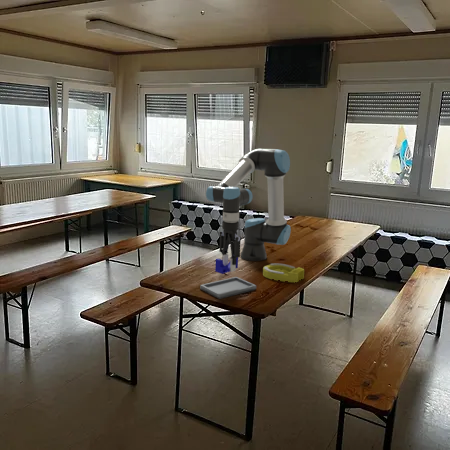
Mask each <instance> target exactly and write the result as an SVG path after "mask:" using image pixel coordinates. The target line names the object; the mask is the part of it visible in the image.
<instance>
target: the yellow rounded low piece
mask: <svg viewBox="0 0 450 450" xmlns="http://www.w3.org/2000/svg"><path fill="white" fill-rule="evenodd" d="M262 275H263V277H265V278H266V279H269V280H272V279H274V280H273V281H278V280H280V281H279V282H285V281H288V282H287V283H295V282H296V283H298V282H300V281H302V280H303V279H304V278H305V277H304V276H305V269H304V268H303V267H299V266H298V267H295V266H293V265H290V264H285V263H277V262H276V263H270V264H267V265H264V266H263V268H262ZM301 279H302V280H301ZM299 280H300V281H299Z"/></svg>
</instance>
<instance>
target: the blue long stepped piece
mask: <svg viewBox="0 0 450 450" xmlns="http://www.w3.org/2000/svg"><path fill="white" fill-rule="evenodd" d="M230 256H231V257H232V255H230ZM236 269H239V257H238V258H237V259H236ZM214 271H215V273H218V274H221V275H223V274H226V273H230V261H228V264H227V265H226V266H224V264H223V260H222V258H215V267H214Z"/></svg>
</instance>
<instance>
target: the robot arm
mask: <svg viewBox="0 0 450 450" xmlns="http://www.w3.org/2000/svg"><path fill="white" fill-rule="evenodd" d="M290 166H291V159H290V155H289V153H288V152H287V151H286V150H284V149H283V150H282V149H276V148H255V149H253V150H251V151H249V152H247V153H246V154H243V156H242V157H241V158H239V160H238V163H237V164H236V166H234V168H232V170H230V172H228V174H227V175H226V176H224V177H223V178H222V180H221V181H219V183H217V185H215V186H214V185H209V186H208V187H207V188H206V191H205V197H206V200H208V201H209V202H212V203H222V220H223V221H222V223H221V224H222V225H221V226H222V227H221V228H222V230H223V231H219V250H218V251H219V253H221V255H222V258H221V259H222V260H223V264H224V266H226V265H227V264H228V263H229V262H230V272H236V269H237V268H236V259H237V258H238V259H239V258H241V259H242V260H245V261H251V262H260V261H261V262H262V261H265V260H266V259H267V252H266V247H265V243H268V244H274V245H278V246H279V245H281V246H283V245H286V244H287V242H288V240H289V239H290V237H291V231H292V228H291V225H289V224H288V221H287V219H286V218H285V203H284V200H285V199H284V195H285V194H284V193H285V192H284V178H285V176H286V175H287V173H288V172H290V168H291V167H290ZM255 171H263V172H264V177H265V178H266V179H267V180H266V183H267V210H268V211H267V213H268V218H267V219H266V218H262V217H257V218H256V217H255V218H249V219H246V220H245V223H244V241H243V243H244V244H243V247H242V251H241V241H242V236H239V234H238V230H239V228H240V225H239V224H240V222H239V220H240V207H241V206H246V205H248V204H250V203H251V202H252V200H253V198H254V196H253V193H252V191H251V190H250V189H248V188H240V187H238V186H239V185H240V183H241V182H242V181H243V180H244V179H245V178H246V177H247V176H249V174H251V173H254V172H255ZM229 246H230V254H231V255H230V256H232V257H230V259H229V252H228V251H229ZM230 272H229V273H230Z"/></svg>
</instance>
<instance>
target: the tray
mask: <svg viewBox="0 0 450 450" xmlns="http://www.w3.org/2000/svg"><path fill="white" fill-rule="evenodd" d="M199 288H200V290H201V291H204V292H205V293H207V294H209V295H211V296H212V297H215V298H217V299H219V300H221V299H225V298H228V297H229V298H230V297H232V296H236V295H237V296H238V295H240V294H244V293H248V292H252V291H256V290H257V285H256V284H254V283H253V282H249V281H247V280H245V279H244V278H241V277H238V276H233V277H230V278H224V279H221V280H215V281H211V282H208V283H203V284H200V287H199Z"/></svg>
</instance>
